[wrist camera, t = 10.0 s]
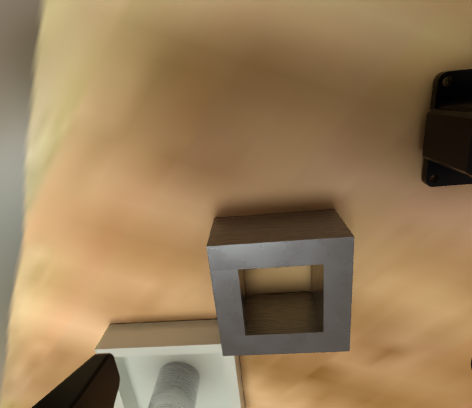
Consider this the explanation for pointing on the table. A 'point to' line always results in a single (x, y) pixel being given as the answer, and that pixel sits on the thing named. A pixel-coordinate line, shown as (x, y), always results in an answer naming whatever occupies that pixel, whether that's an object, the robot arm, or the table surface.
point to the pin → (175, 386)
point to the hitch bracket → (282, 304)
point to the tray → (172, 350)
